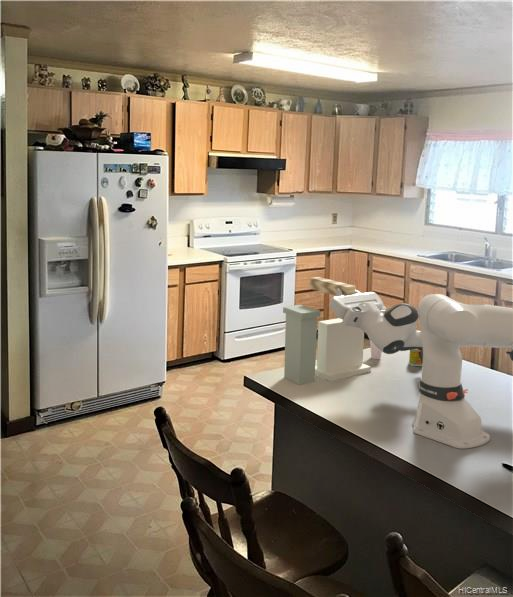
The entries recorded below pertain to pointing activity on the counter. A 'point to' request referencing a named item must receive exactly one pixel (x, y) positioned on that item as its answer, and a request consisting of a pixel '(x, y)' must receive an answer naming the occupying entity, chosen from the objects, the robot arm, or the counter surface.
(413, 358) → the supplement bottle
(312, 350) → the tall grey square pillar
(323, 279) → the rod
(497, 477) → the counter surface
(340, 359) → the white slab on base
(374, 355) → the smoothie
